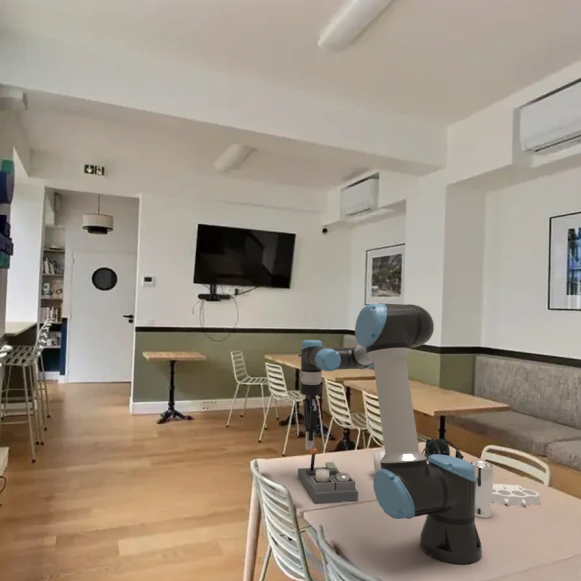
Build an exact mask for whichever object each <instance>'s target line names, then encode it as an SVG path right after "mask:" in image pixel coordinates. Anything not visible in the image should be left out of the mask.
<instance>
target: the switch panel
mask: <svg viewBox="0 0 581 581" xmlns="http://www.w3.org/2000/svg"><path fill="white" fill-rule="evenodd" d="M317 469H327V467H326V466H321V467H314V470H313V471H311V470H310V467H302V468H300V467H299V468H297V478H298V477H299V478H298V480H299V481H300V480H301V481H300V482H301V484H302V485H303V487H304V488H305V490H306V492H307V493H308V494H309V496H310V498H311V499H312V500H313V503H314V504H317V505H318V504H333V503H334V504H335V502H336V503H344V502H343V501H351V502H358V501H359V491H358V490H357V489H356V480H355V479H354V478H352V477H351V476H350V479H349V481H348V482H337V481H336V474H337V473H341V471H339V469H338V468H337V471H329V482H327V483H319V482H317V481H316V470H317ZM327 470H328V469H327Z"/></svg>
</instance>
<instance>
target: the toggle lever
mask: <svg viewBox="0 0 581 581" xmlns="http://www.w3.org/2000/svg"><path fill="white" fill-rule="evenodd" d="M318 452H319V451H318V449H317V447H315V446H314V447H312V448H311V449H310V450H309V453H310V454H311V460H310V467H309V468H310V470H311V471H313V470H314V468H315V460H316V459H315V458H316V455H317V454H318Z"/></svg>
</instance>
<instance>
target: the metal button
mask: <svg viewBox="0 0 581 581" xmlns="http://www.w3.org/2000/svg"><path fill="white" fill-rule="evenodd" d="M350 477H351V475H350V474H349V473H347V472H340V473H337V474H336V481H337V482H348V481H349V479H350Z"/></svg>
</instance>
